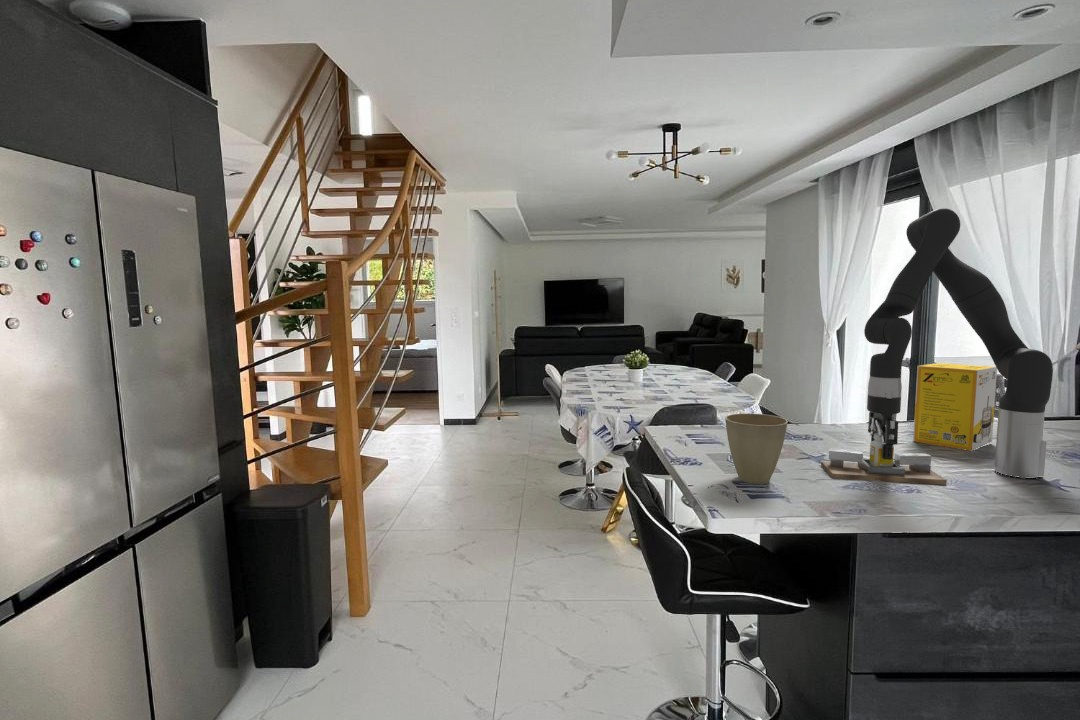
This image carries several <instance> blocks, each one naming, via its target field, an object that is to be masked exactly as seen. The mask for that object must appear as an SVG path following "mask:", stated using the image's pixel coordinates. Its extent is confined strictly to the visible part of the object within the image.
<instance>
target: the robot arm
mask: <svg viewBox="0 0 1080 720" xmlns="http://www.w3.org/2000/svg"><path fill="white" fill-rule="evenodd" d="M960 229H961V219H960V217H959V216H958V214H957V213H956V212H955V211H954V210H952V209H950V208H947V207H946V208H945V207H941V208H936V209H934V210H932V211H930V212H927V213H925V214H923V215H922V216H920V217H918V218H915V220H912V221H911V222H910V223H909V224H908V226H907V228H906V231H905V232H906V238H907V241H908V242H909V244H910V246H911V247H912V248H913V250H914V254H913V255H912V257H911V258H910V259H909V261H908V262H907V263H906V265H905V266H904V267H903V268H902V269H901V271H900V272H899V273H898V274H897V275H896V277H895V279H894V281H893V283H892V284H891V286H890V288H889V292H888V293H887V295H886V298H885V300H884V301H883V302H882V303H881V304H880V305H879V306H878V307H877V308H876V310H875V311H874V312H873V313H872V314H871V315H870V317H869V318H868V320H867V321H866V322H865V326H864V331H863V333H864V337H865V339H866V341H867V342H868V343H871V344H873V345H887V347H886V349H885V352H881V353H875V354H873V355H871V358H870V361H869V362H870V364H869V379H868V385H867V401H866V403H867V404H866V411H868V412H869V413H868V426H867V427H868V428H867V432H868V433H869V436H870V443H871V442H872V441H874V440H875V439H874V433H879V436H880V437H881V438H882V443H883V444H882V458H883V459H887V460H891V459H892V454H893V445H894V446H895V445H898V443H899V442H898V439H899V437H898V434H899V421H898V420H894V418H893V415H898V414H899V413H901V407H902V405H901V404H902V389H903V388H902V386H903V385H902V367H903V365H902V364H903V361H904V357H905V355H906V353H907V352H906V351H907V349H908V347H909V344H910V341H911V338H912V333H913V329H912V325H911V323H910V322H909V320H907V319H906V318H905V316H909V315H911V314H912V313H913V312H914V311H915V308H916V307H917V304H918V302H919V300H920V298H921V295H922V294H923V291H924V289H925V286H926V285H927V283H928V281H929V279H930V278H931V275H932V274H934V275H935V276H936V278H937V279H938V281H939V282H940V283H941V285H942V286H943V287H944V289H945V290H946V291H947V293H948V295H949V296H950V298H951V299H952V301H953V302H954V304H955V306H956V307H957V309H958V310H959V312H960V313H961V314H962V316H963V317H964V318H965V320H966V321H967V323H968V324H969V325H970V327H971V328H972V329H973V331H974V332H975V333H976V335H978V337H979V338H980V340H981V341H982V342H983V345H984V347H985V348H986V350H987V352H988V354H989V356H990V358H991V359H992V362H993V363H994V365H995V366H994V367H996V368H997V372H998V373H999V374H1000V375H1001V377H1003V378H1004V379H1005V380H1006V387H1005V388H1006V389H1005V392H1004V395H1002V396H1001V397H1000V398H999V402H998V414H997V416H998V417H997V429H996V430H997V431H996V440H995V441H996V443H995V445H996V446H995V457H994V470H995V471H996V472H995V471H994V472H995V473H997V472H999V473H1002V474H1007V475H1012V476H1019V477H1037V476H1044V477H1045V468H1046V456H1047V455H1046V454H1047V442H1046V441H1045V440H1044V429H1045V428H1044V426H1045V413H1046V405H1047V404H1048V402H1049V400H1050V396H1051V393H1052V392H1051V391H1052V390H1051V389H1052V383H1053V375H1054V374H1053V373H1054V368H1053V366H1054V365H1053V362H1052V360H1051V358H1050V357H1049V355H1048V354H1047V353H1045V352H1044V351H1041V350H1037V349H1034V348H1029V347H1028V346H1027V345H1026V344H1025V343H1024V342H1023V340H1022V339H1021V338H1020V336H1019V335H1018V334H1017V333H1016V331H1015V329H1014V328H1013V327H1012V324H1011V322H1010V318H1009V314H1008V310H1007V307H1006V304H1005V301H1004V299H1003V298H1002V296H1001V294H1000V292H999V291H998V289H997V288H996V286H995V285H994V284H993V282H992V281H991V280H990V278H988V277H987V275H985V274H983V272H980V271H979V270H977V268H974V267H972V266H970V265H968V264H966V263H965V262H963V261H962V260H961V259H959V258H958V257H957V256H956V255H954V253H953V251H951V249H950V248H949V247H950V245H952V243H953V242H954V240H955V239H956V237H957V236H958V234H959V232H960V231H961V230H960ZM889 438H890V439H889ZM999 473H998V474H999ZM1002 474H1001V475H1002Z"/></svg>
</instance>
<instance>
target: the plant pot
mask: <svg viewBox="0 0 1080 720" xmlns="http://www.w3.org/2000/svg"><path fill="white" fill-rule="evenodd" d="M724 420H725V429H726V436H727V441H728V447H729V450H730V454H731V458H732V462H733V465H734V468H735V471H736V474H737V476H738V477H737V478H738V479H739V480H740V481H742V482H744V483H748V484H753V485H762V484H767V483H769V482H770V480H771V479H772V477H773V474H774V472H775V469H776V468H777V464H778V462H779V459H780V456H781V452H782V449H783V446H784V441H785V438H786V432H787V427H788V422H789V421H788V420H787V419H786V418H784V417H781V416H777V415H773V414H772V415H771V414H764V413H749V412H748V413H747V412H746V413H731V414H729V415H726V416H724Z"/></svg>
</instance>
